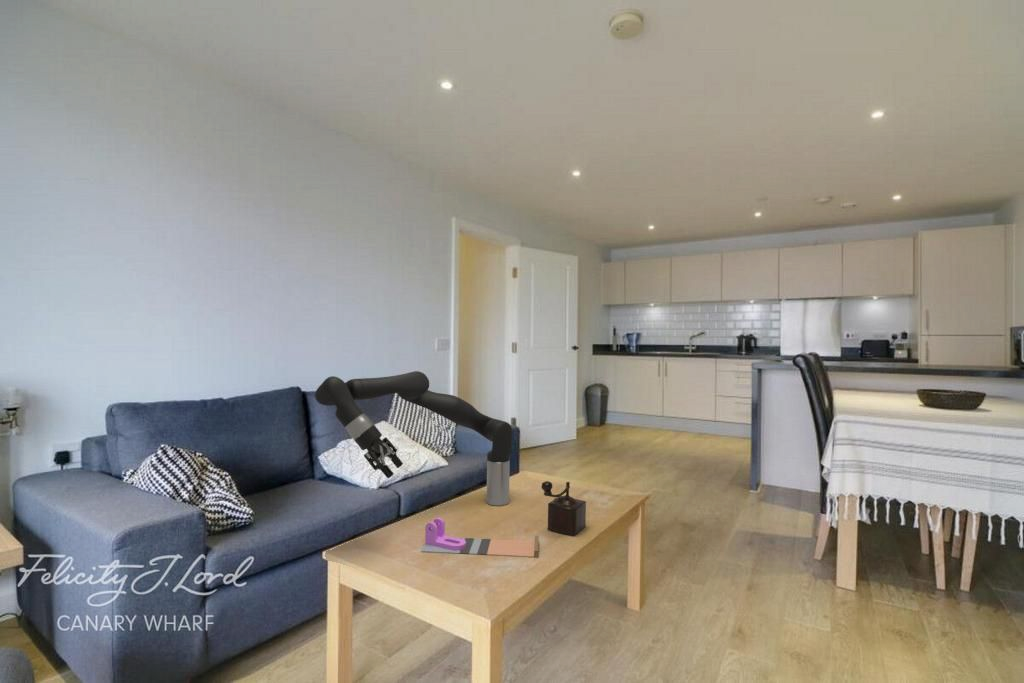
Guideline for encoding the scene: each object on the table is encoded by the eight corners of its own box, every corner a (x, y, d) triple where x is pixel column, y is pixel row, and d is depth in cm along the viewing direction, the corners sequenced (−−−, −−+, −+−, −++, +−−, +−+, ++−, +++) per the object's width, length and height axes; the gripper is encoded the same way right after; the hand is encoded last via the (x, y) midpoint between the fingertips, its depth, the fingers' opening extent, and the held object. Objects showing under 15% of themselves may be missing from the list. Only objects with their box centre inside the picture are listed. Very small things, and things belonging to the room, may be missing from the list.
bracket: (425, 543, 153) (425, 522, 152) (434, 537, 158) (435, 516, 158) (460, 551, 147) (460, 529, 147) (469, 544, 152) (469, 523, 152)
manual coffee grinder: (558, 520, 175) (559, 471, 175) (586, 527, 169) (587, 476, 169) (538, 534, 162) (538, 481, 162) (567, 542, 156) (568, 487, 156)
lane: (429, 537, 158) (429, 531, 158) (538, 542, 156) (538, 536, 156) (421, 551, 147) (421, 545, 147) (537, 557, 145) (538, 550, 145)
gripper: (364, 431, 158) (395, 469, 158) (344, 445, 144) (378, 487, 144) (380, 418, 157) (411, 456, 157) (362, 431, 143) (396, 472, 143)
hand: (395, 471), depth 150 cm, fingers open, 8 cm apart
